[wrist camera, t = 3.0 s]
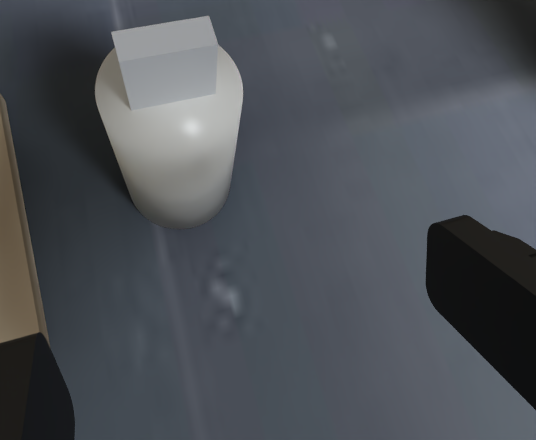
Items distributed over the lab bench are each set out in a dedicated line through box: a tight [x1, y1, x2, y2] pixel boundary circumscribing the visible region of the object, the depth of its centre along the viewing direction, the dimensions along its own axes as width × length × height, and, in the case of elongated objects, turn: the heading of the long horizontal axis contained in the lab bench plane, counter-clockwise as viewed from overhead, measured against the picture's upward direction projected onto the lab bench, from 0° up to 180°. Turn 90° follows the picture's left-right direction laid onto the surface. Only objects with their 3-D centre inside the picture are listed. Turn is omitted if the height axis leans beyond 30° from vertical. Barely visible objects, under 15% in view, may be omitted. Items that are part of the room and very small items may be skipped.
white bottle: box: [95, 16, 243, 229], centre depth 19 cm, size 5×5×11 cm
